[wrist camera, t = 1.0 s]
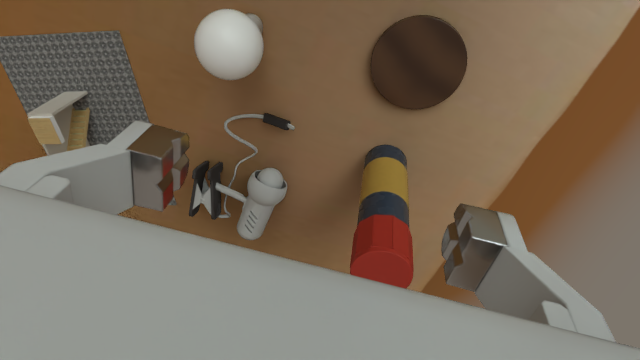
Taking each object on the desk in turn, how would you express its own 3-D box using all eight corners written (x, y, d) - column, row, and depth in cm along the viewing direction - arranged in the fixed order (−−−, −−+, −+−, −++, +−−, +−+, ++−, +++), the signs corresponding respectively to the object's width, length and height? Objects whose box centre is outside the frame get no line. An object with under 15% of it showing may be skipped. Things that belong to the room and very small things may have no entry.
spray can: (381, 136, 51) (376, 218, 38) (415, 159, 52) (422, 246, 39) (356, 165, 54) (343, 250, 41) (389, 187, 55) (386, 276, 42)
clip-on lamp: (233, 85, 54) (192, 202, 60) (214, 92, 48) (171, 221, 54) (317, 124, 54) (267, 237, 60) (308, 136, 48) (254, 260, 54)
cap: (376, 204, 40) (374, 240, 35) (423, 234, 41) (426, 272, 37) (343, 238, 43) (337, 275, 38) (387, 265, 44) (387, 304, 40)
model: (86, 91, 54) (45, 116, 48) (115, 163, 60) (82, 194, 53) (64, 91, 54) (21, 117, 48) (95, 163, 60) (60, 194, 54)
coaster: (411, -6, 42) (411, -5, 41) (487, 52, 44) (488, 55, 44) (353, 73, 47) (352, 75, 47) (422, 122, 49) (423, 125, 49)
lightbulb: (250, 64, 49) (216, 102, 40) (212, 16, 46) (168, 45, 37) (292, 33, 46) (267, 66, 37) (255, -20, 44) (218, 2, 35)
